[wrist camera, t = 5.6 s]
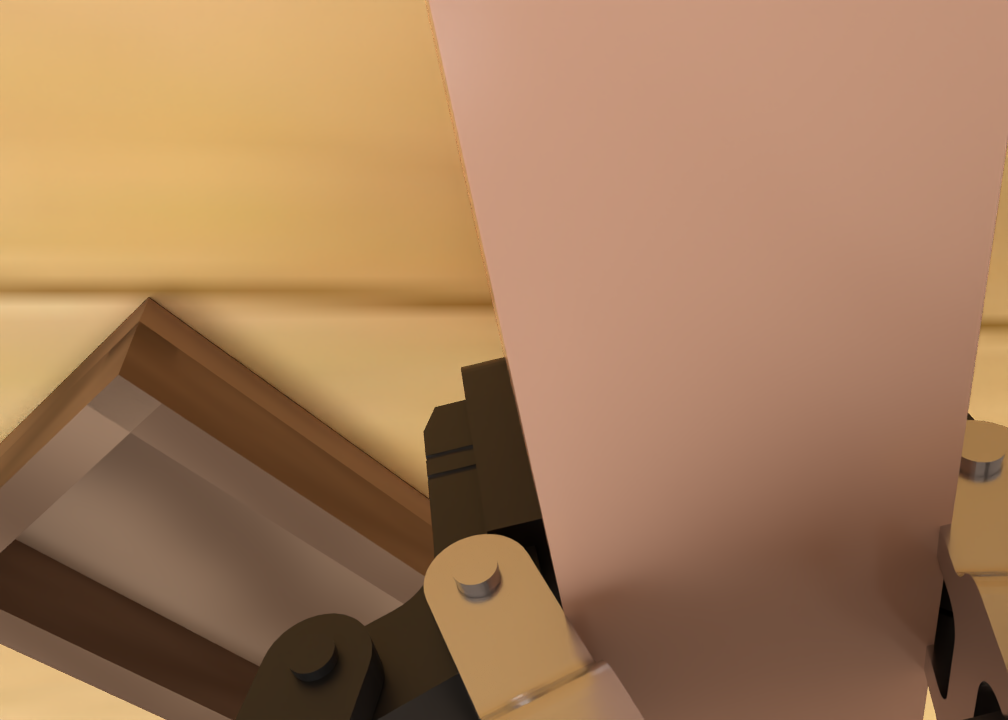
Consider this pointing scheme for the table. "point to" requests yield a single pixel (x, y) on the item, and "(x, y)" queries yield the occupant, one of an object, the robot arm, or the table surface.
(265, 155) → the table surface
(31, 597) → the tray
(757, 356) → the clay strip
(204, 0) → the table surface
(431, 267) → the table surface
